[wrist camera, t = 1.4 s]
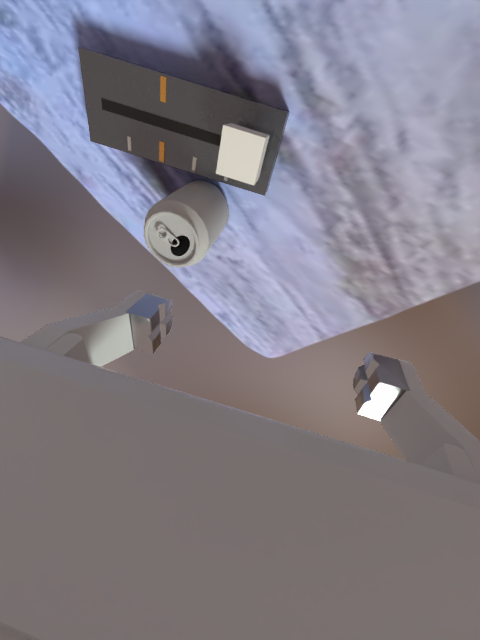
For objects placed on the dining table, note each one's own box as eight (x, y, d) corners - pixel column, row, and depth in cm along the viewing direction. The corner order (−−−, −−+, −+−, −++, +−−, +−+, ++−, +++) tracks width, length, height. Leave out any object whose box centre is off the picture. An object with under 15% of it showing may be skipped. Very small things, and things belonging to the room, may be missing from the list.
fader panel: (96, 52, 28) (77, 47, 26) (289, 112, 28) (287, 112, 26) (105, 138, 33) (90, 141, 31) (267, 189, 33) (264, 195, 31)
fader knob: (235, 122, 27) (223, 124, 23) (271, 133, 27) (265, 138, 23) (227, 165, 30) (215, 173, 26) (260, 175, 30) (254, 185, 26)
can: (209, 244, 40) (179, 284, 31) (169, 207, 37) (125, 240, 28) (241, 209, 36) (218, 244, 26) (199, 165, 33) (158, 187, 24)
